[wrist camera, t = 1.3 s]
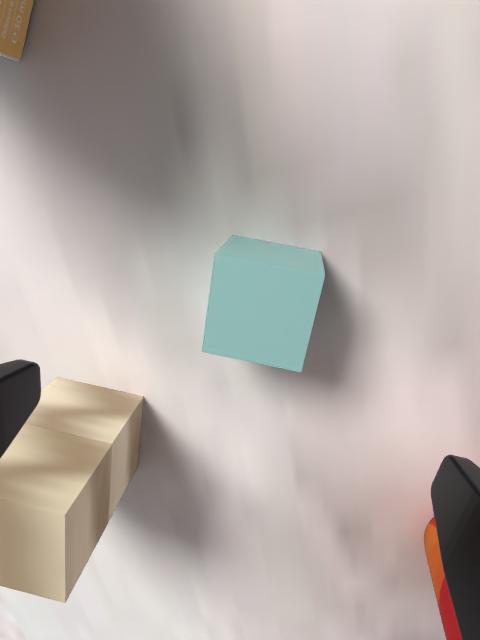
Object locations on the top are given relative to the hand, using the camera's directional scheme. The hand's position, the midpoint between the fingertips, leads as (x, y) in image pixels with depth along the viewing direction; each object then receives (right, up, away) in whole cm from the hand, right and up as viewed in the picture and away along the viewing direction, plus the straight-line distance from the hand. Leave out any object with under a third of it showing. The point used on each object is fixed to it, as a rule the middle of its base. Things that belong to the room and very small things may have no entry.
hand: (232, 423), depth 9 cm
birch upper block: (-8, -5, +11) cm, 15 cm away
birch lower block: (-8, -4, +14) cm, 17 cm away
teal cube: (+2, +4, +10) cm, 11 cm away
